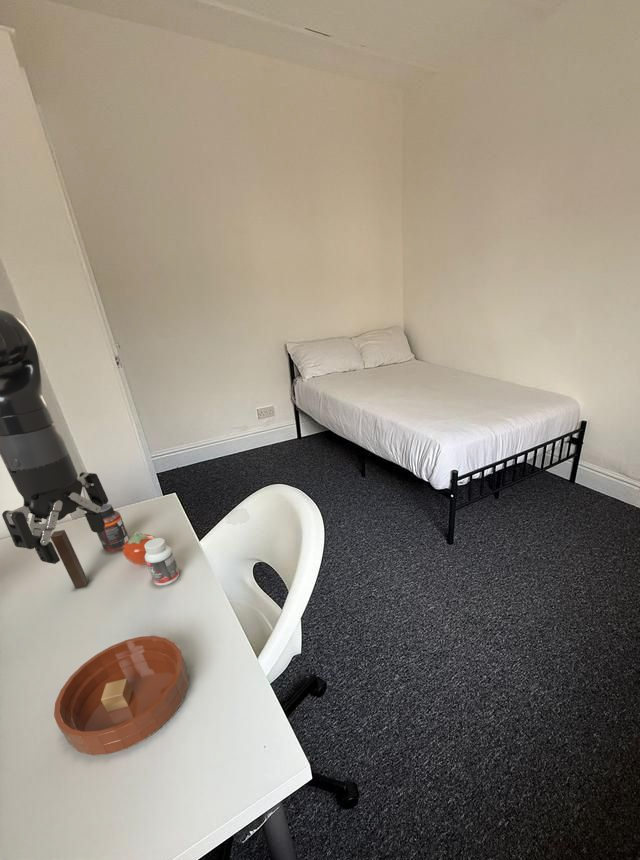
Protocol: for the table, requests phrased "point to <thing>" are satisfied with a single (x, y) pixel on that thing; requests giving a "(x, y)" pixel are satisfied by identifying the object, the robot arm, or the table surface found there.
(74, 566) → the stick
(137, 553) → the tomato
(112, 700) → the block
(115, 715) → the bowl
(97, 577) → the table surface
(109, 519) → the supplement bottle
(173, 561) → the pill bottle
